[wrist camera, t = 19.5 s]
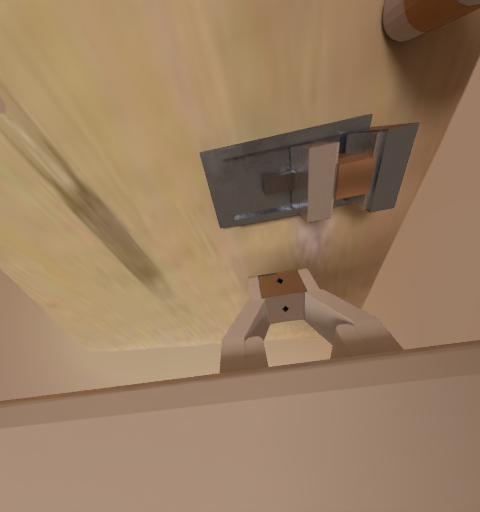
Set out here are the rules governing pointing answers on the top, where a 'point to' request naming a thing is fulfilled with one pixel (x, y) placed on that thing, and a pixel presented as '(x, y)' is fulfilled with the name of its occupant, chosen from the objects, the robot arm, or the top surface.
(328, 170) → the jaw
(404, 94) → the top surface
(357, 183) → the block
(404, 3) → the coffee cup
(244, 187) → the vise
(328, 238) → the top surface
